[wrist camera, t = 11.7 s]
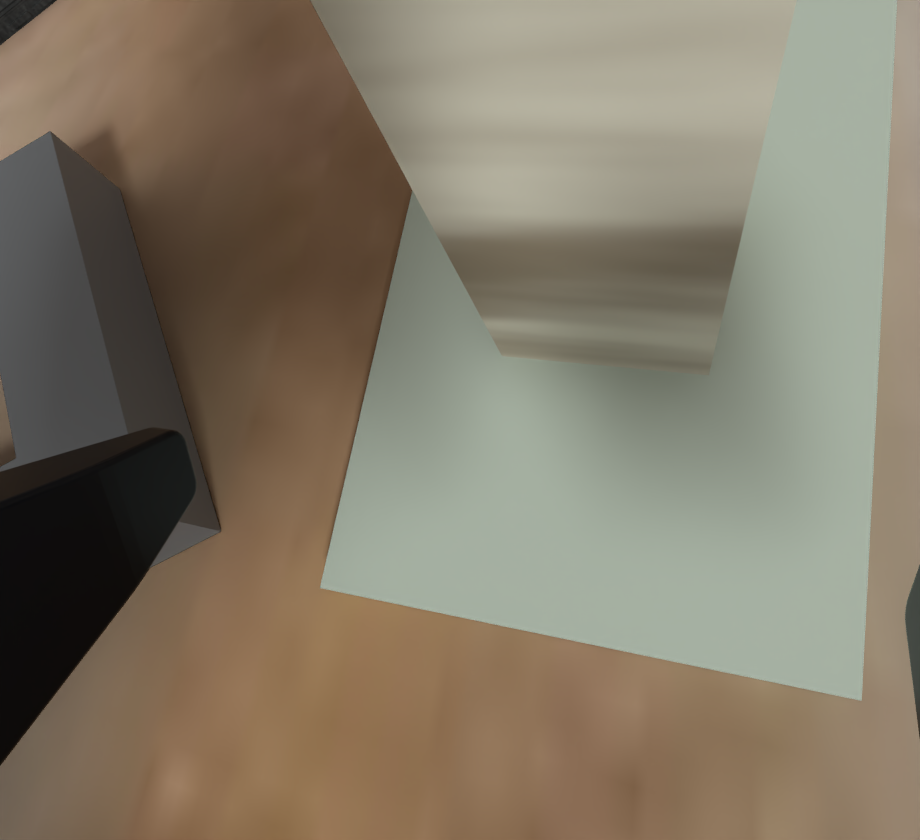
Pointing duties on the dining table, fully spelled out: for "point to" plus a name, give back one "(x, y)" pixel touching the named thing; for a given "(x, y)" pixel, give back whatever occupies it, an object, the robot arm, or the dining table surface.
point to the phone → (18, 15)
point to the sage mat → (658, 424)
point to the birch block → (577, 157)
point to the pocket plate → (82, 322)
